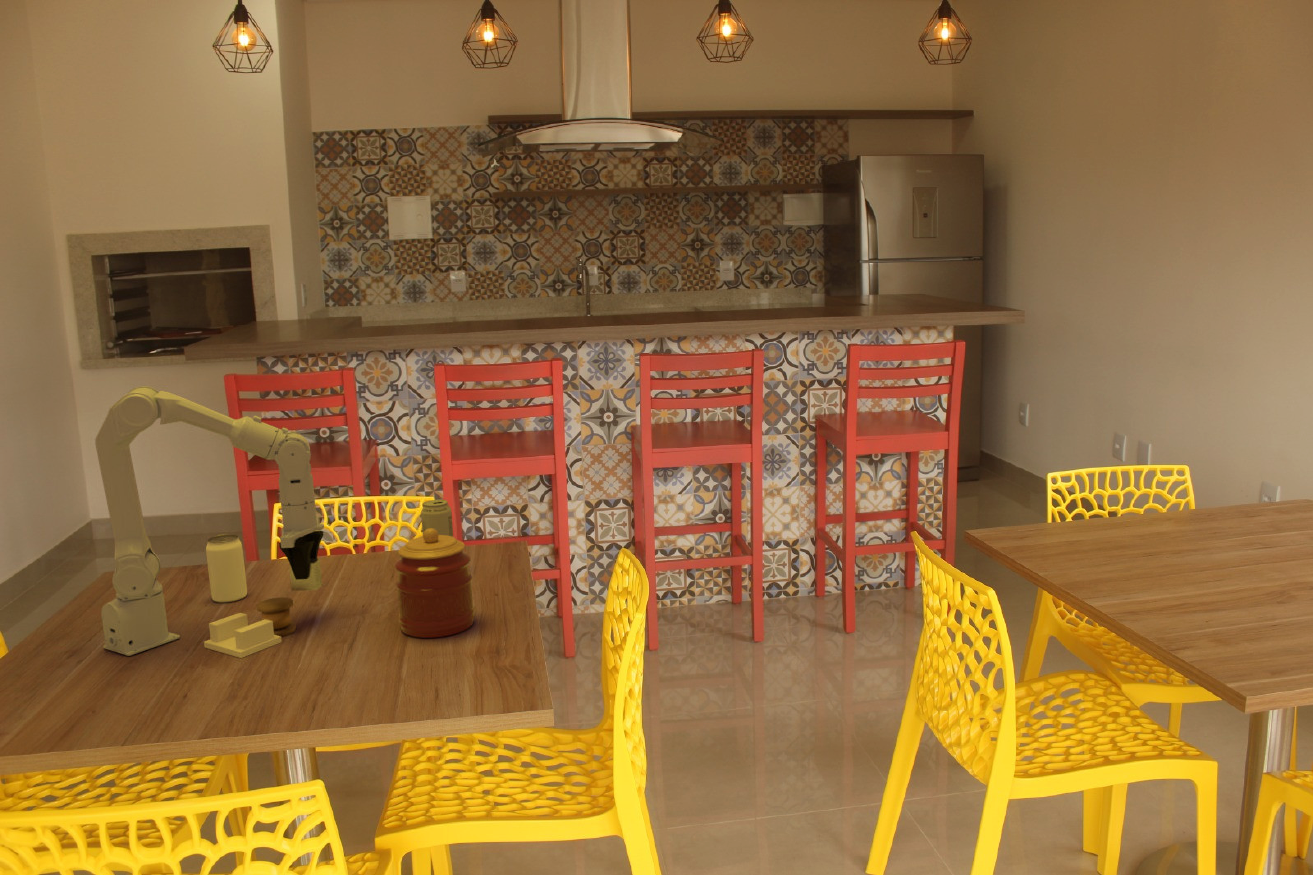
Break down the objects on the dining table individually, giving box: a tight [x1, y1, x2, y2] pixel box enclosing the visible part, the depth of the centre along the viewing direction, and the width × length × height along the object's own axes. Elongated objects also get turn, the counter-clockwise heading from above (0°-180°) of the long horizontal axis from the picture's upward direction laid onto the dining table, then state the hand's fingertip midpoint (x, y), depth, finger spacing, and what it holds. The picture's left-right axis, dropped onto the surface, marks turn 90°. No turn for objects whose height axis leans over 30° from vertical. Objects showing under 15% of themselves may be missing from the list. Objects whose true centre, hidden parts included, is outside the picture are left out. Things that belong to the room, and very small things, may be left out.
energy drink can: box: [420, 499, 454, 537], centre depth 213 cm, size 6×6×15 cm
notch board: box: [203, 612, 282, 659], centre depth 179 cm, size 8×10×4 cm
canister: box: [394, 528, 476, 639], centre depth 183 cm, size 13×13×18 cm
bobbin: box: [256, 597, 297, 638], centre depth 185 cm, size 6×6×5 cm
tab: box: [288, 557, 323, 592], centre depth 189 cm, size 3×4×5 cm, turn 89°
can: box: [205, 533, 248, 604], centre depth 204 cm, size 6×6×12 cm
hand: (305, 575), depth 189 cm, fingers closed on tab, 3 cm apart
